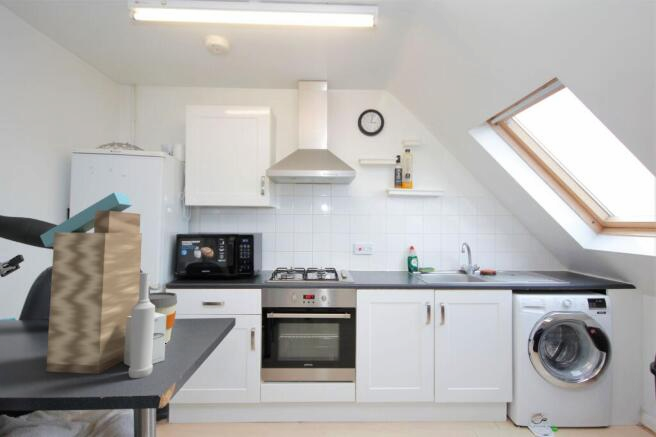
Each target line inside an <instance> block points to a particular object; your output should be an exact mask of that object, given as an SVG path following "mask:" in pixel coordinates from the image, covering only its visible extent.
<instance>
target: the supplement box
mask: <svg viewBox="0 0 656 437" xmlns="http://www.w3.org/2000/svg"><path fill="white" fill-rule="evenodd" d="M165 336H166V315H165V314H161V313H156V312H155V317H154V333H153V349H152V365H154V364H158V363H161V362H164V361H165V357H166V355H165V353H166V344H165ZM130 352H131V316H128V317H126V332H125V352H124V360H123V363H124V365H126V366H128V367H130Z"/></svg>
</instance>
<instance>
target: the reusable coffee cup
mask: <svg viewBox="0 0 656 437" xmlns="http://www.w3.org/2000/svg"><path fill="white" fill-rule="evenodd" d="M177 296H178V294H177V293H175V292H170V291H169V292H168V291H167V292H163V291H162V292H161V291H160V292H149V293H148V299H149V300H150V302H151V303H152V304H153V305H155V312H156V313H161V314H165V315H166V336H165V343H167V342H168V341H169V340H170V341H171V334H172V330H173V327H174V325H175V320H176V315H177V311H176V306H177V303H178V298H177ZM170 341H169V342H170ZM167 344H168V343H167Z"/></svg>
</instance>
